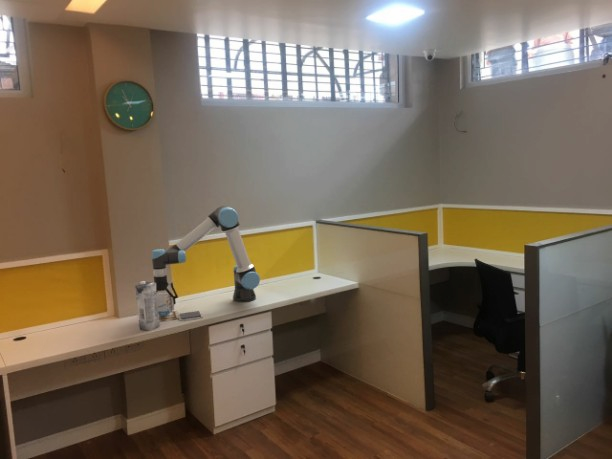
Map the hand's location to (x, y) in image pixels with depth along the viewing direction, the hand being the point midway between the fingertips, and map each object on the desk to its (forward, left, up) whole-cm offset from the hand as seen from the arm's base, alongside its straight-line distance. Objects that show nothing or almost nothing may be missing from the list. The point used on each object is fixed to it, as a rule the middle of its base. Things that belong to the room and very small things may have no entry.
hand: (163, 311), depth 320 cm
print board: (0, 0, -4) cm, 4 cm away
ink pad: (-15, +6, -4) cm, 17 cm away
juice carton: (+9, +17, -4) cm, 20 cm away
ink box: (0, 0, -2) cm, 2 cm away
